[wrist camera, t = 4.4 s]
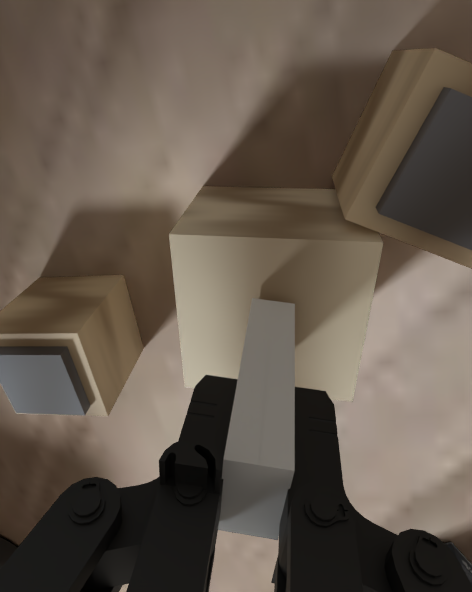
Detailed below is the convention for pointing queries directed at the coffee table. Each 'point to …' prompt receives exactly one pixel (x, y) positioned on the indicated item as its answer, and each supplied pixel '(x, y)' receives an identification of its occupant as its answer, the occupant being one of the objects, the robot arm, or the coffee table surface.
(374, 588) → the robot arm
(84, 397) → the marked oak block 2
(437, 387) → the coffee table surface
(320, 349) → the plain oak block
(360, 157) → the marked oak block 1
